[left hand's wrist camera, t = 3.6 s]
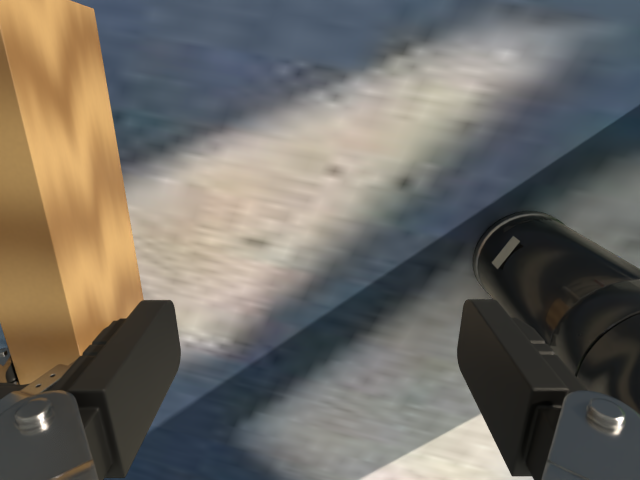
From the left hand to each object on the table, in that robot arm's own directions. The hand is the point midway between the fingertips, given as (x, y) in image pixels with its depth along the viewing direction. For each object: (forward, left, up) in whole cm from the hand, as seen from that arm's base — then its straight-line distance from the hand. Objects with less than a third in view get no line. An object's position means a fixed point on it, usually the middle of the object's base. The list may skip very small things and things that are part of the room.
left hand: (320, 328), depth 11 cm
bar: (+3, +17, -21) cm, 28 cm away
